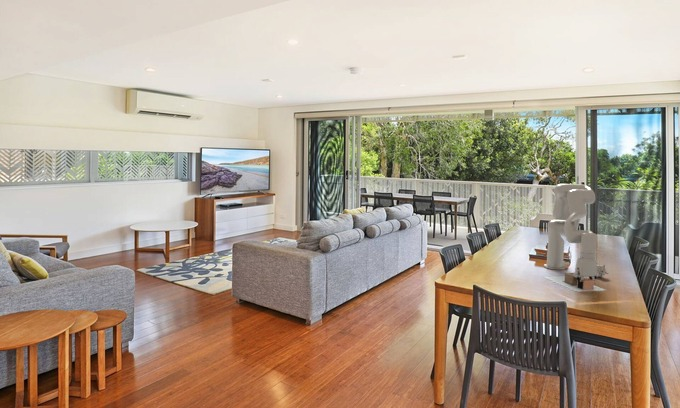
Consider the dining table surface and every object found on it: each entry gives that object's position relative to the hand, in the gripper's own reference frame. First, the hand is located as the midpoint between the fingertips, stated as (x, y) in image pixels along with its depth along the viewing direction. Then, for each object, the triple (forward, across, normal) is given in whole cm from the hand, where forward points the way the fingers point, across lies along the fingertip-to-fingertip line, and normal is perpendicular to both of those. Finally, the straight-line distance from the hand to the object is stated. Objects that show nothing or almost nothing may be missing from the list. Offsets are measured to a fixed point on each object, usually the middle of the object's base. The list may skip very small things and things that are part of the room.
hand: (585, 287), depth 228 cm
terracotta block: (0, 0, 0) cm, 0 cm away
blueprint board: (+1, 0, -9) cm, 9 cm away
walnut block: (0, 0, -9) cm, 9 cm away
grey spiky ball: (+1, -27, -22) cm, 35 cm away
